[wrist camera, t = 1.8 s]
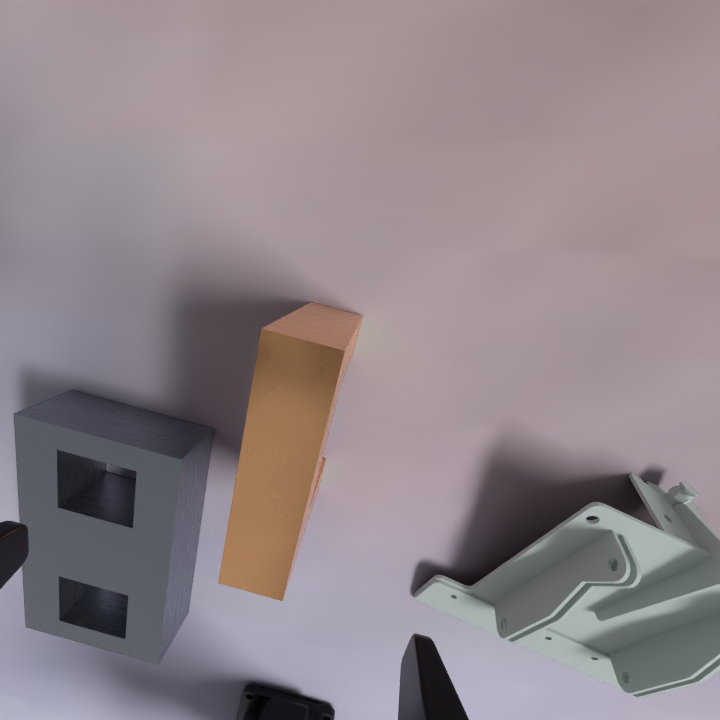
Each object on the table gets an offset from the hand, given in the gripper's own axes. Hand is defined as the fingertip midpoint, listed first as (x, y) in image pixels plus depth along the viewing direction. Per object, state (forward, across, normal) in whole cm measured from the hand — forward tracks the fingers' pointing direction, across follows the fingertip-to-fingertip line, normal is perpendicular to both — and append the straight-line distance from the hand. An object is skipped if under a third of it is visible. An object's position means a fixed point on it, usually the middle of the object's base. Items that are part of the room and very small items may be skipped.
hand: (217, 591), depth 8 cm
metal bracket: (+11, -17, +6) cm, 21 cm away
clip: (+10, 0, 0) cm, 10 cm away
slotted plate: (+10, +9, +10) cm, 17 cm away
